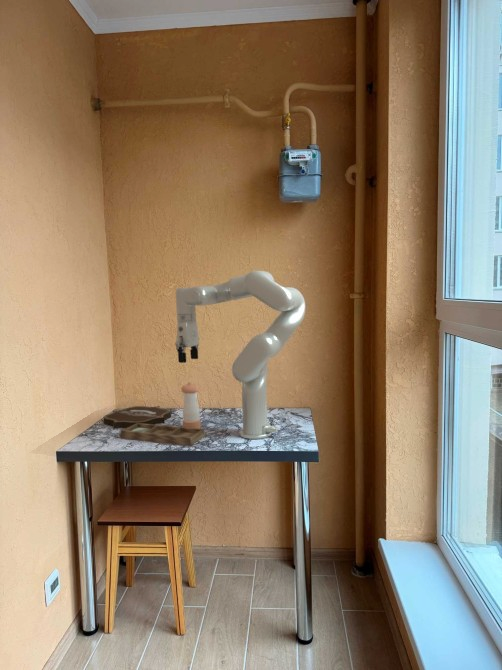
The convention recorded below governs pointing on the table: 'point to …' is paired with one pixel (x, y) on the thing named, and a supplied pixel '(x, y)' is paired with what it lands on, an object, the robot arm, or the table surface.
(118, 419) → the decorative plaque
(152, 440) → the notch ledge
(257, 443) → the table surface
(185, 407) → the pepper shaker
